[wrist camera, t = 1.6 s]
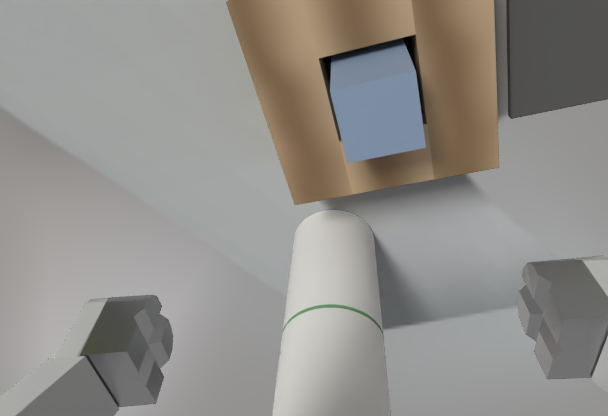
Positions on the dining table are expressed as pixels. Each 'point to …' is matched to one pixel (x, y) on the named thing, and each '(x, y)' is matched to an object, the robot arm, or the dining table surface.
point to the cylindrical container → (332, 323)
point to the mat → (556, 54)
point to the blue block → (376, 101)
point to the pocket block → (357, 34)
